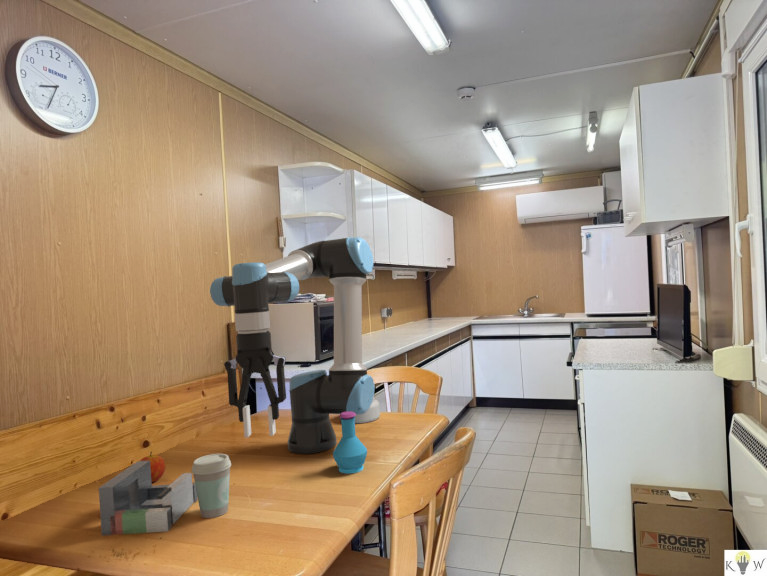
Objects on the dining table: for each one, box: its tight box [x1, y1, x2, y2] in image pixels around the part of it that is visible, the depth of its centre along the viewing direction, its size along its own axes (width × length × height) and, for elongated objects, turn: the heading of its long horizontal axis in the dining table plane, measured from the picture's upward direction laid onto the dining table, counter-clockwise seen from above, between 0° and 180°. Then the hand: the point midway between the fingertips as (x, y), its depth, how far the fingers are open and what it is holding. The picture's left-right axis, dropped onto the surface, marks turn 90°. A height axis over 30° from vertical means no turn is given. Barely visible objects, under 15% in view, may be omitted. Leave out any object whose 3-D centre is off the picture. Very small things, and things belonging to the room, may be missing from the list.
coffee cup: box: [190, 453, 232, 519], centre depth 112 cm, size 9×9×12 cm
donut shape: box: [339, 398, 381, 425], centre depth 185 cm, size 15×15×7 cm
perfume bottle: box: [332, 411, 368, 474], centre depth 133 cm, size 9×9×15 cm
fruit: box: [139, 451, 166, 484], centre depth 134 cm, size 7×7×8 cm
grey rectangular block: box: [140, 472, 195, 525], centre depth 110 cm, size 9×14×7 cm, turn 179°
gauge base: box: [98, 460, 198, 536], centre depth 112 cm, size 14×16×10 cm
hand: (260, 434), depth 112 cm, fingers open, 5 cm apart
